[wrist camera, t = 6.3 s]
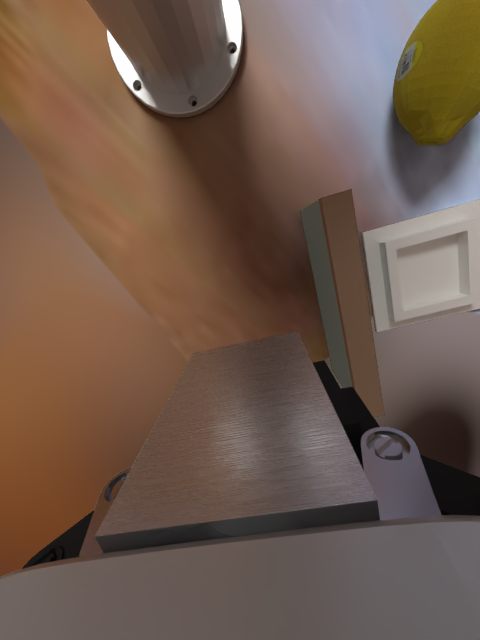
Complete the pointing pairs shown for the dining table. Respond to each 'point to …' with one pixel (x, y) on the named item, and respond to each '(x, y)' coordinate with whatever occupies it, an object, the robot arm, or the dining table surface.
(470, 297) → the cradle
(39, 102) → the dining table surface
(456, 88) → the lemon
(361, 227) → the dining table surface
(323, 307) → the door board
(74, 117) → the dining table surface
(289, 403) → the block
